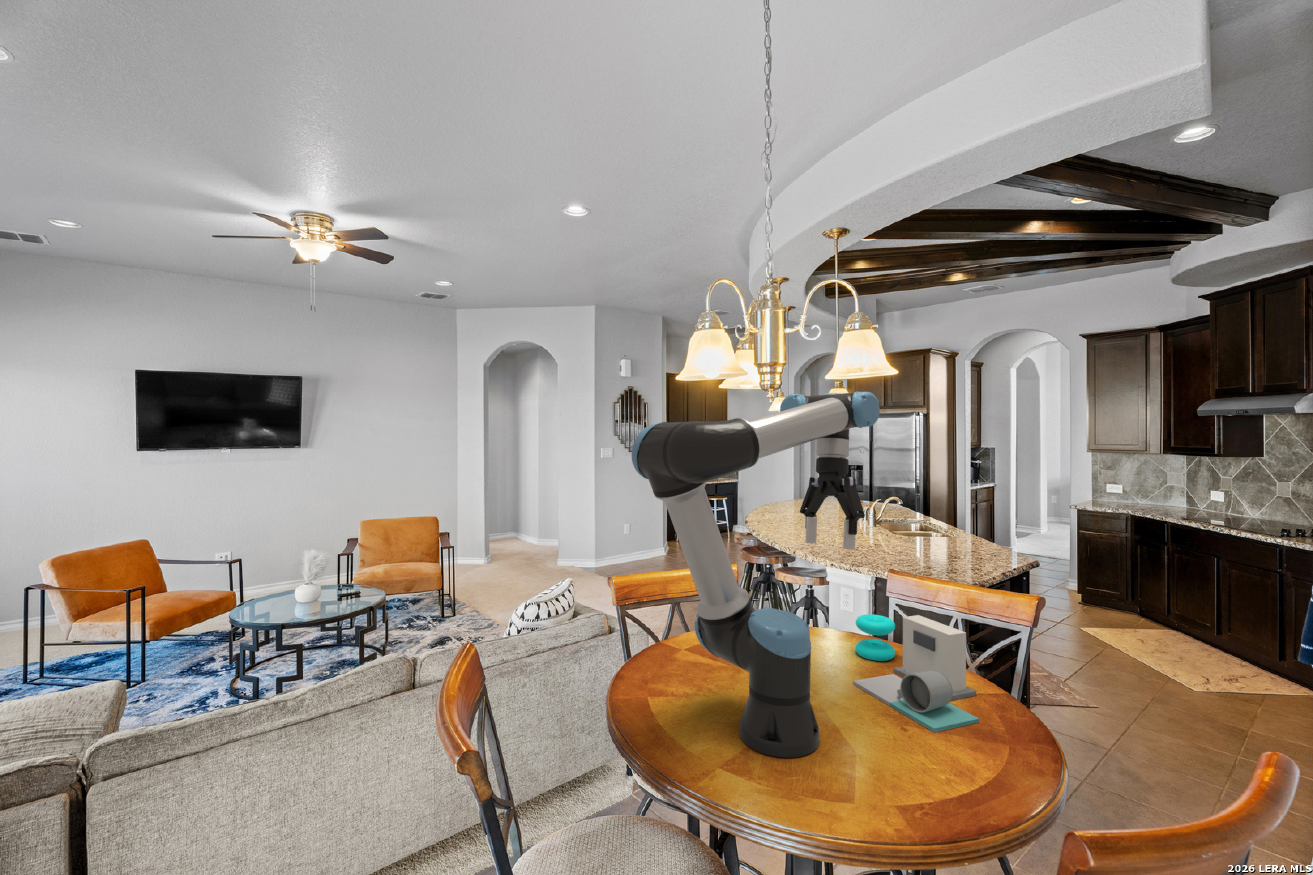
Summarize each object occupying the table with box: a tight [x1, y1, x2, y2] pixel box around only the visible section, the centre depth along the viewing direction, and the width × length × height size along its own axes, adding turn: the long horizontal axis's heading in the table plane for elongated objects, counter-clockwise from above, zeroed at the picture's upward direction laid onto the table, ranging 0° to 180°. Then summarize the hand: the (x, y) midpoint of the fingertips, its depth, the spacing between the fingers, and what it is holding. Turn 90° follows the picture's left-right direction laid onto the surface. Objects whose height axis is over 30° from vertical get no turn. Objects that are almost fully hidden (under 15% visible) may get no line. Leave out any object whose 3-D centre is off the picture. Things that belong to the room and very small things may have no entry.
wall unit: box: [893, 614, 977, 702], centre depth 137 cm, size 8×17×14 cm, turn 21°
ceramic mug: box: [897, 671, 953, 713], centre depth 124 cm, size 11×8×8 cm
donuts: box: [855, 614, 896, 662], centre depth 155 cm, size 10×10×10 cm
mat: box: [852, 673, 980, 733], centre depth 127 cm, size 12×24×1 cm, turn 21°
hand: (829, 546), depth 137 cm, fingers open, 13 cm apart
